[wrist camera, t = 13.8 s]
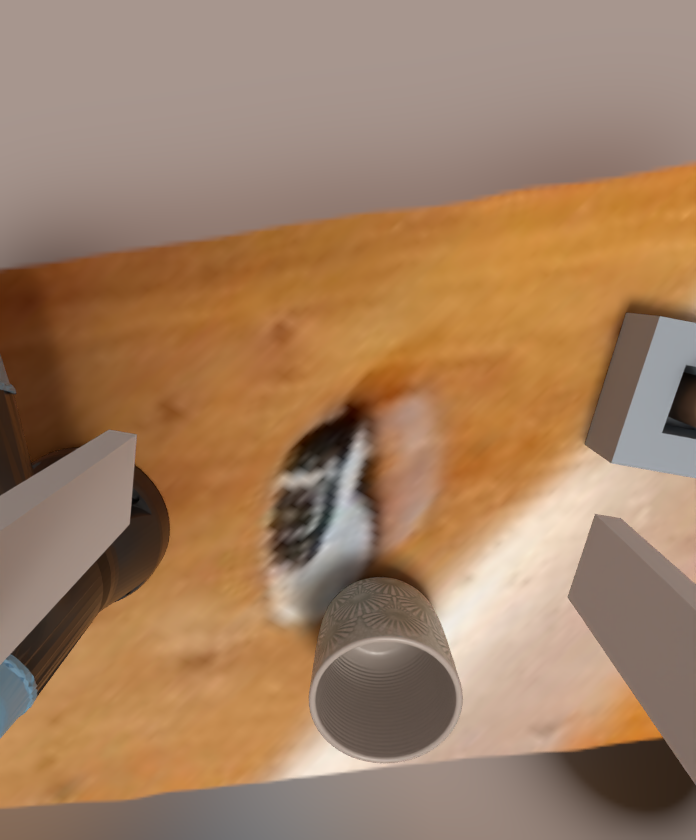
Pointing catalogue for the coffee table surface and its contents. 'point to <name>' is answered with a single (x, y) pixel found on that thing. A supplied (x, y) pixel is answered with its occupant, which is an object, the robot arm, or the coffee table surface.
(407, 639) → the planter
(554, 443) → the coffee table surface
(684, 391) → the dowel
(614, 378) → the socket
